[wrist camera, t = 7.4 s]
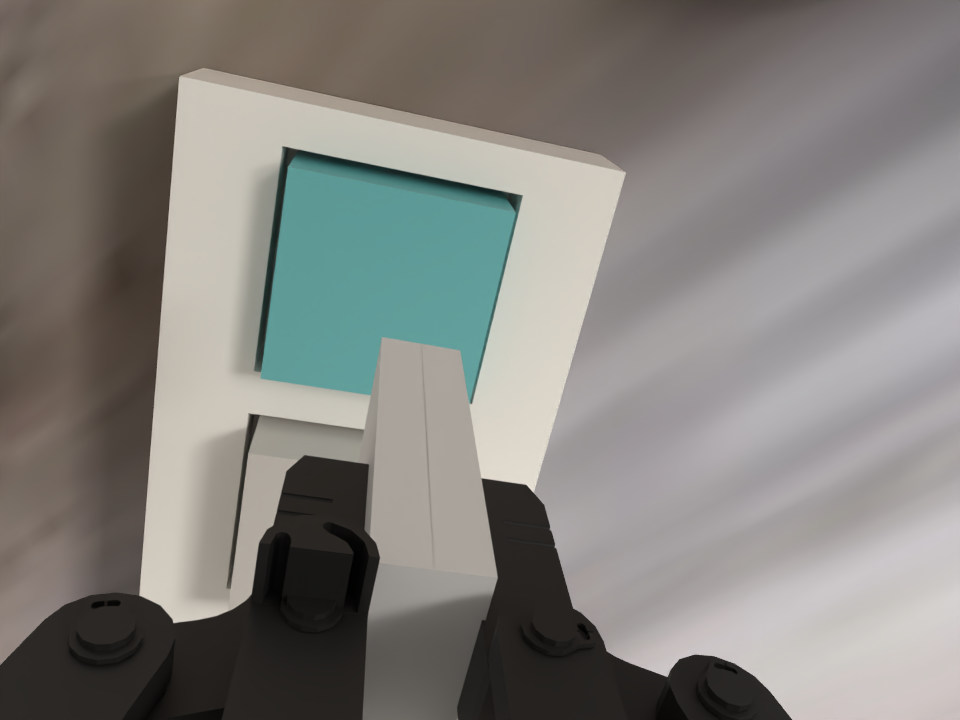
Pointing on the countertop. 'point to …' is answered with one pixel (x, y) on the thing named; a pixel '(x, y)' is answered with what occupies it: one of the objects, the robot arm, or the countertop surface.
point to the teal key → (379, 270)
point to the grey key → (278, 482)
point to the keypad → (248, 287)
